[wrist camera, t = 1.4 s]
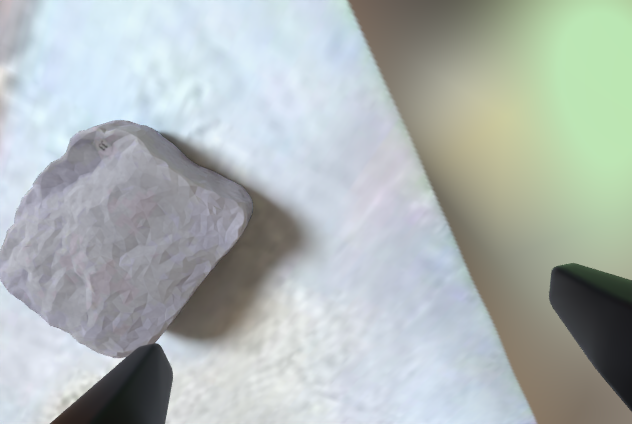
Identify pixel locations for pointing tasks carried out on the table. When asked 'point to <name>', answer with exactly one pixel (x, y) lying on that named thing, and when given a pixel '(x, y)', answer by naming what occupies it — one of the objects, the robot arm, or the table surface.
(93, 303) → the stone block
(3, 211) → the table surface
